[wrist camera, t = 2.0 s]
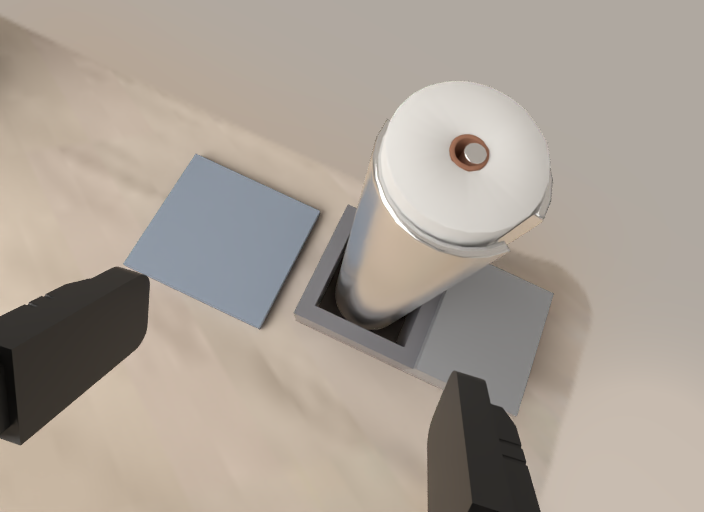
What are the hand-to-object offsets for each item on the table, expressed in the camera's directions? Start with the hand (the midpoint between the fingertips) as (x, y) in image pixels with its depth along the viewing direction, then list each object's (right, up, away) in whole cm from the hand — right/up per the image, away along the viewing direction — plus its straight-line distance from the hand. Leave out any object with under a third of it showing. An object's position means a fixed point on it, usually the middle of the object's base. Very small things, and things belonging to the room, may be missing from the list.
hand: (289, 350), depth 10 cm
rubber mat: (-10, +4, +27) cm, 29 cm away
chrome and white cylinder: (+3, -1, +27) cm, 27 cm away
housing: (+7, -3, +27) cm, 28 cm away
